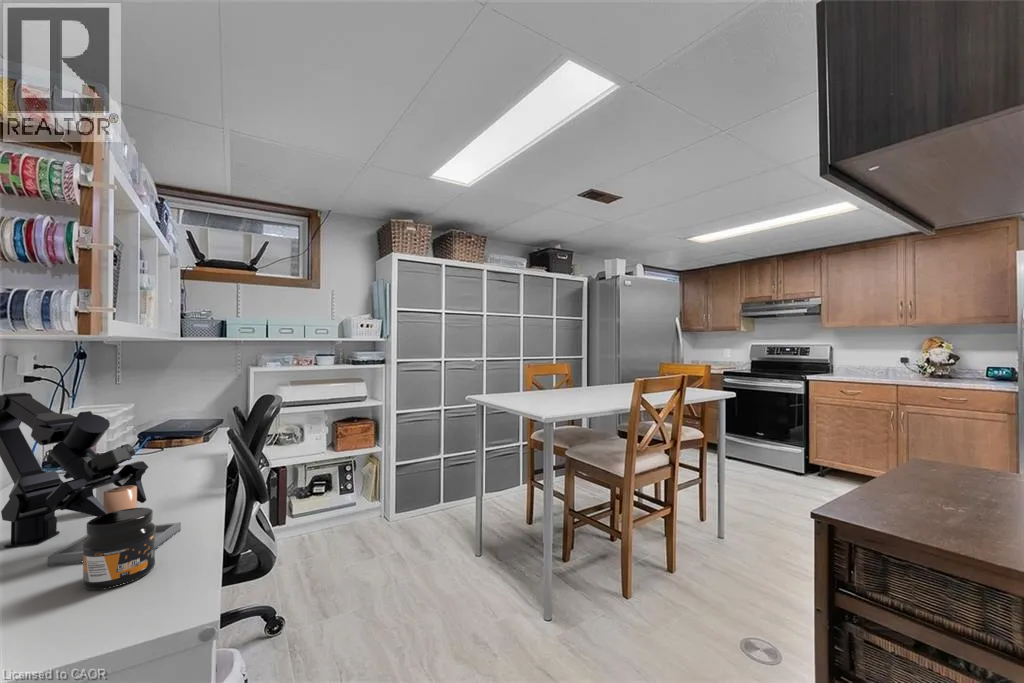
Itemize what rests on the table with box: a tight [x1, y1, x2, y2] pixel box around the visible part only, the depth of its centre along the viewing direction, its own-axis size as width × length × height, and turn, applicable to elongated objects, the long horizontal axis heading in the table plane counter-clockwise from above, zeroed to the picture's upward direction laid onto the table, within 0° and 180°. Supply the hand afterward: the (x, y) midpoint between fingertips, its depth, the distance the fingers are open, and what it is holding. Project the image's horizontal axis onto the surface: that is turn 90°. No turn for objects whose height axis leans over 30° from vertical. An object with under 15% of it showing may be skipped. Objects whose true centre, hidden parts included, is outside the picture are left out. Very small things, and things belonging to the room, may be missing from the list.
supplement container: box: [81, 507, 156, 590], centre depth 82 cm, size 10×10×12 cm
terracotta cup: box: [103, 485, 138, 513], centre depth 95 cm, size 6×6×12 cm
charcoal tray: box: [47, 522, 182, 567], centre depth 95 cm, size 18×13×2 cm
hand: (126, 508), depth 95 cm, fingers open, 9 cm apart
